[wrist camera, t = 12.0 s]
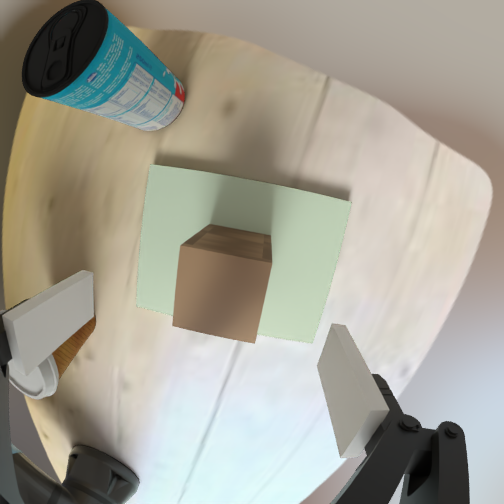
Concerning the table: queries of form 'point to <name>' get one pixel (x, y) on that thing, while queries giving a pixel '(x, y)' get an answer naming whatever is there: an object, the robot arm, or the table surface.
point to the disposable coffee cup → (50, 365)
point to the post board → (249, 219)
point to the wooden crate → (222, 282)
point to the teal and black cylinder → (101, 69)
